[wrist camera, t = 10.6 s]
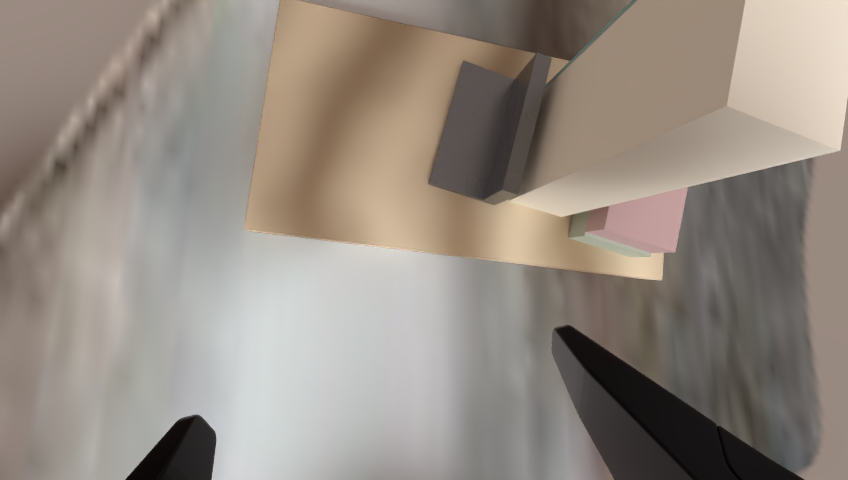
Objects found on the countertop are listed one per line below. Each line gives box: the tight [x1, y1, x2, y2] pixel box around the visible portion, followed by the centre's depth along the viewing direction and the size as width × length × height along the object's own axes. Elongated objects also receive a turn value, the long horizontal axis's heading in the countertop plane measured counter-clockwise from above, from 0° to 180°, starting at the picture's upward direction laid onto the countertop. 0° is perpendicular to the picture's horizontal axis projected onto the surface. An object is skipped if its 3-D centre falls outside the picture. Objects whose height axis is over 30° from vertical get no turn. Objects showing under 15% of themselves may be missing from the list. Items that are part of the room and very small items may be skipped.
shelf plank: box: [244, 0, 664, 280], centre depth 20 cm, size 23×12×1 cm, turn 83°
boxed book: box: [509, 0, 848, 217], centre depth 14 cm, size 6×3×12 cm, turn 165°
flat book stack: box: [568, 187, 688, 257], centre depth 19 cm, size 8×4×3 cm, turn 164°
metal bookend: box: [428, 52, 552, 205], centre depth 18 cm, size 7×4×3 cm, turn 164°
